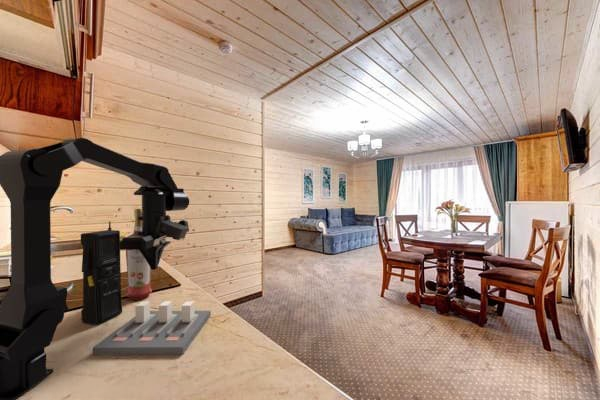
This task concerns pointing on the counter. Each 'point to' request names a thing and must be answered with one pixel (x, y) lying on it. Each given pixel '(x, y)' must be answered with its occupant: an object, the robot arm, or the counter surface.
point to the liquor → (137, 267)
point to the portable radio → (101, 276)
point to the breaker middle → (165, 311)
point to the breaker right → (188, 311)
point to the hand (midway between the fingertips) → (154, 269)
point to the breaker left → (142, 312)
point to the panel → (153, 336)
